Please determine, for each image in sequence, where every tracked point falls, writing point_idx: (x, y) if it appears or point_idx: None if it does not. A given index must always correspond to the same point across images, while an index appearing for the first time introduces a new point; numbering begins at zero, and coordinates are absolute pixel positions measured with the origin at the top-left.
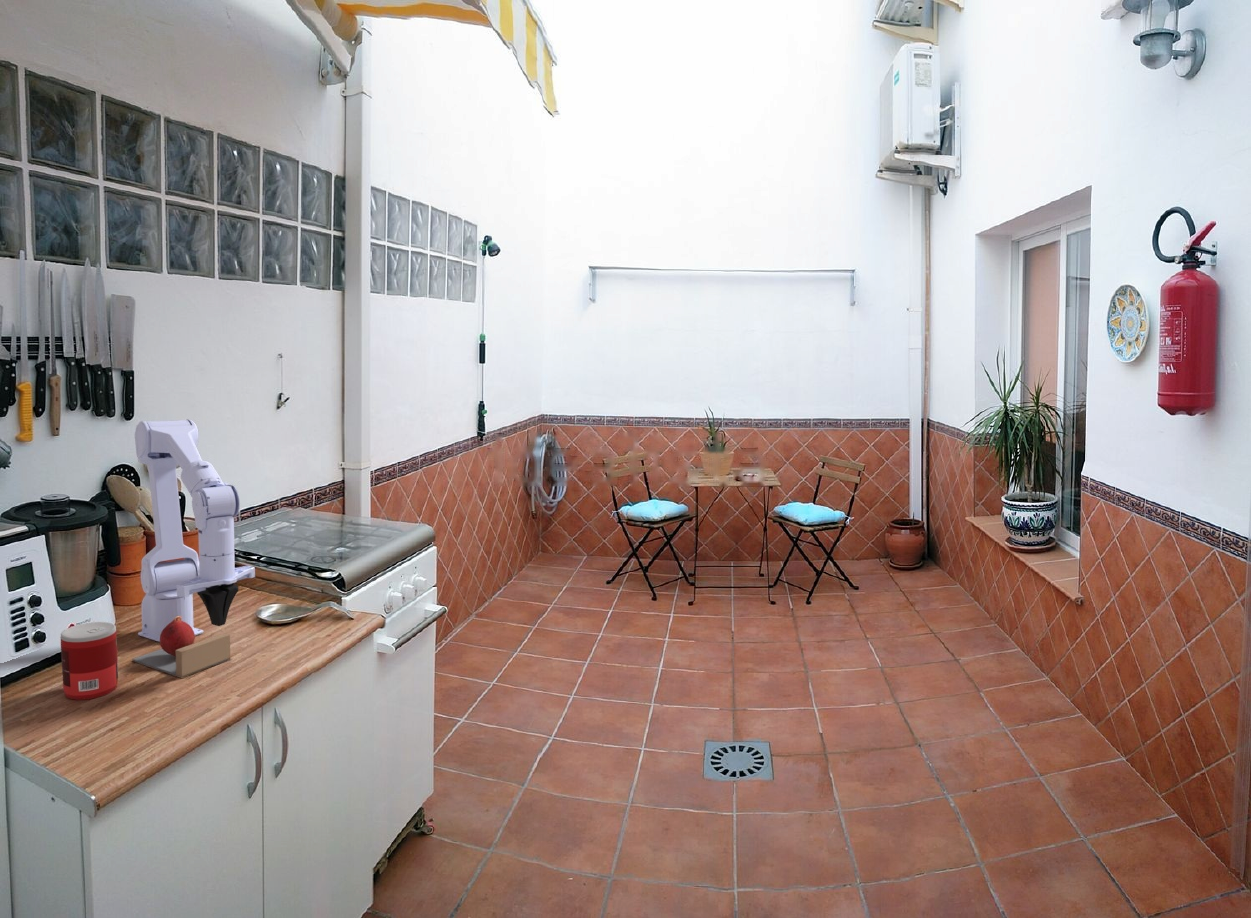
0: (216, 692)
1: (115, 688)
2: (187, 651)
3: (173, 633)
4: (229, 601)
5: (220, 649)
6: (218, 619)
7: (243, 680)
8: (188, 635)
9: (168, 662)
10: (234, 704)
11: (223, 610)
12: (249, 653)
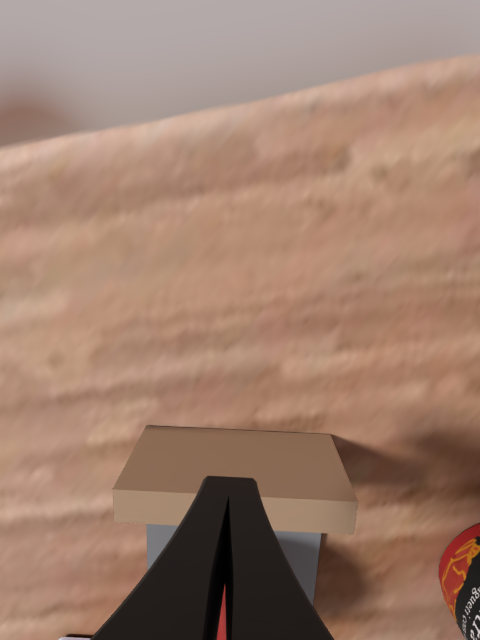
0: (359, 255)
1: (472, 527)
2: (326, 495)
3: None
4: (147, 633)
5: (174, 458)
6: (264, 513)
7: (240, 254)
8: (222, 603)
9: None
10: (408, 112)
11: (215, 566)
12: (73, 414)
